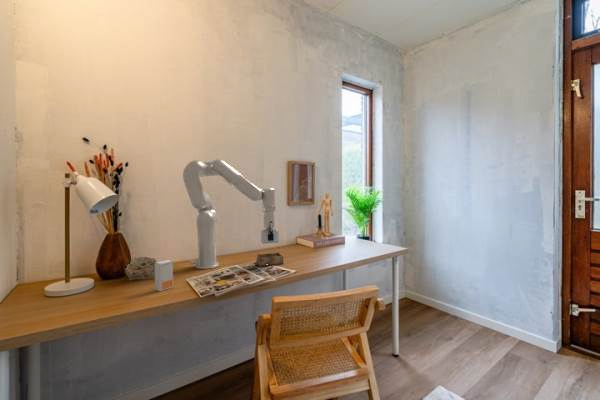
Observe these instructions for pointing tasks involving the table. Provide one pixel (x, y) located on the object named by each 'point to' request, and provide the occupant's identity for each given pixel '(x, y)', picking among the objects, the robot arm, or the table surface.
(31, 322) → the table surface
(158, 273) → the skincare box
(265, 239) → the crate small
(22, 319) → the table surface
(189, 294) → the table surface
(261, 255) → the crate large
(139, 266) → the rock
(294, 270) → the table surface
